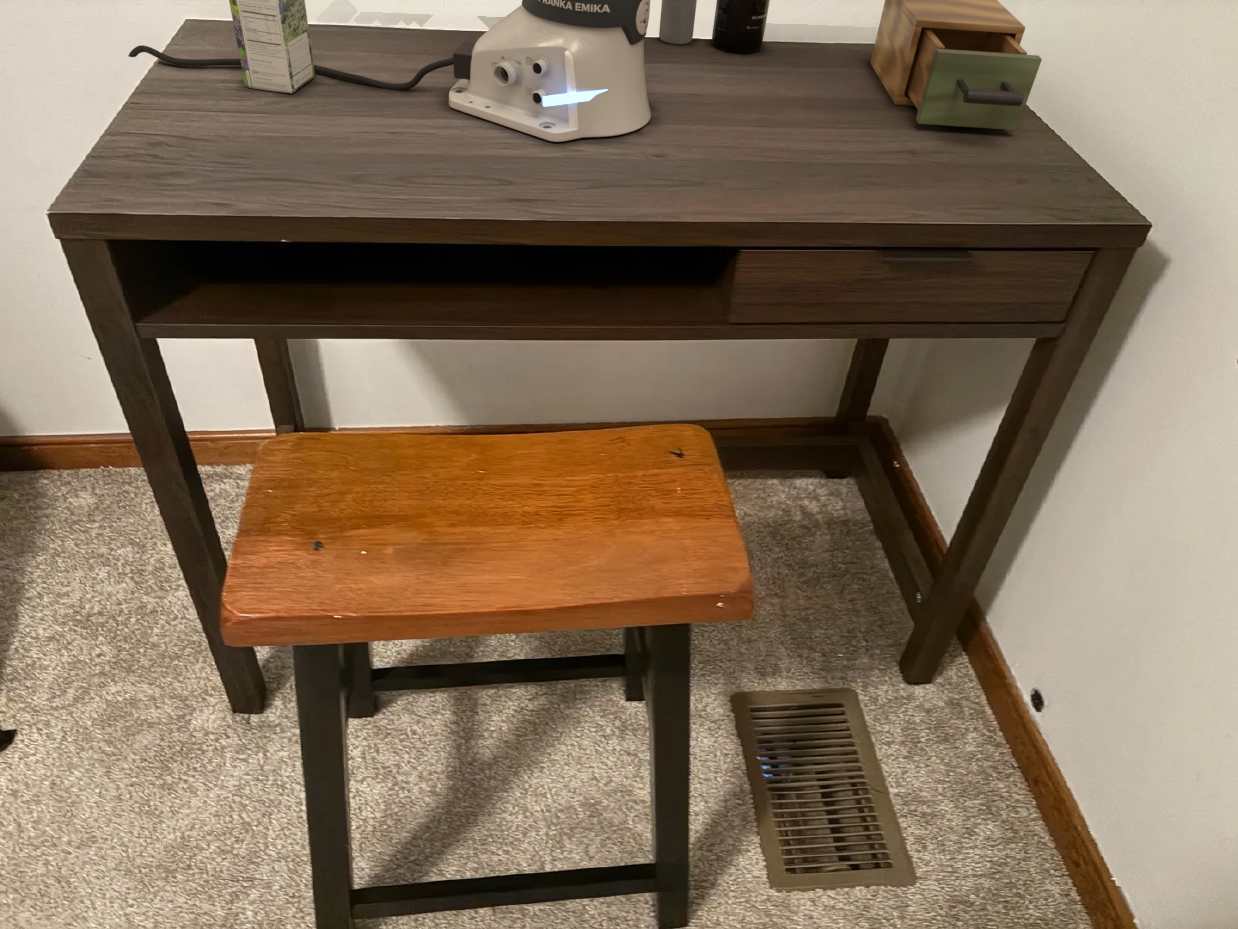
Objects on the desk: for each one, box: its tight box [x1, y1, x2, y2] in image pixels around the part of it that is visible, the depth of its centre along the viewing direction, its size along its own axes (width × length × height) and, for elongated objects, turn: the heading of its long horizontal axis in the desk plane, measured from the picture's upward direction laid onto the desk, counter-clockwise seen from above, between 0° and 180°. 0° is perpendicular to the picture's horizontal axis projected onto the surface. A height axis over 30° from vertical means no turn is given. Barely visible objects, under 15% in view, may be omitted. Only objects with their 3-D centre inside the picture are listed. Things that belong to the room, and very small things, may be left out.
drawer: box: [905, 27, 1042, 131], centre depth 105 cm, size 18×11×8 cm, turn 0°
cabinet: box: [870, 0, 1026, 107], centre depth 113 cm, size 15×13×10 cm
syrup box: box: [228, 0, 316, 94], centre depth 99 cm, size 6×6×14 cm
